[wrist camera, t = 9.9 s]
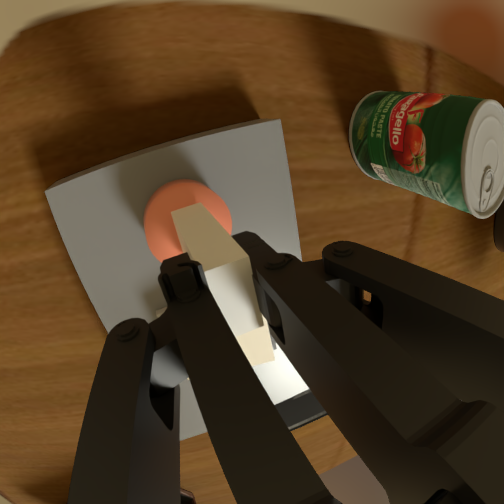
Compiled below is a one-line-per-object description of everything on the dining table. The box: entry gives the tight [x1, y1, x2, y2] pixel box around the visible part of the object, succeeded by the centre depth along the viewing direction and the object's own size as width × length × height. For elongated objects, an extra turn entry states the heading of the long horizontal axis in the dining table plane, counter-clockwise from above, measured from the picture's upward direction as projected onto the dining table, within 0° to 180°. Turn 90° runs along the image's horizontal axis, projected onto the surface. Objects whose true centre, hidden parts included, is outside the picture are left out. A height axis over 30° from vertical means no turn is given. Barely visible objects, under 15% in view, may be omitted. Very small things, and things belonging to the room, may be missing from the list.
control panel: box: [45, 119, 309, 441], centre depth 22 cm, size 14×24×4 cm, turn 11°
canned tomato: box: [349, 91, 504, 219], centre depth 20 cm, size 8×8×11 cm
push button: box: [143, 179, 232, 263], centre depth 18 cm, size 4×4×5 cm
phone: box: [275, 389, 328, 431], centre depth 34 cm, size 8×1×15 cm
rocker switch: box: [187, 315, 275, 380], centre depth 20 cm, size 6×4×2 cm
